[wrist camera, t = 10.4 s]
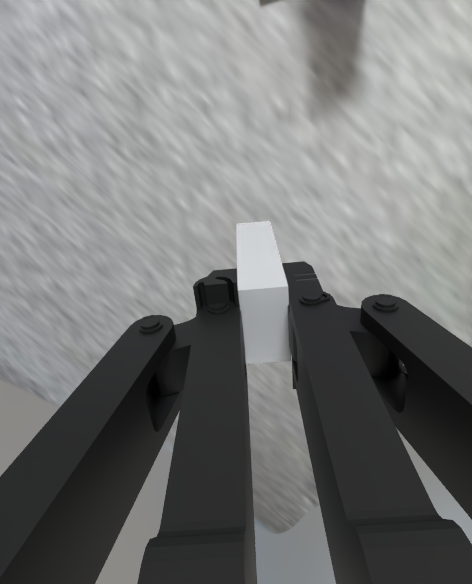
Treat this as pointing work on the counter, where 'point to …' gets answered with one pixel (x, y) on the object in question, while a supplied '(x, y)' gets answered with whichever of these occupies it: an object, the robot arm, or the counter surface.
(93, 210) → the counter surface
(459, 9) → the counter surface
